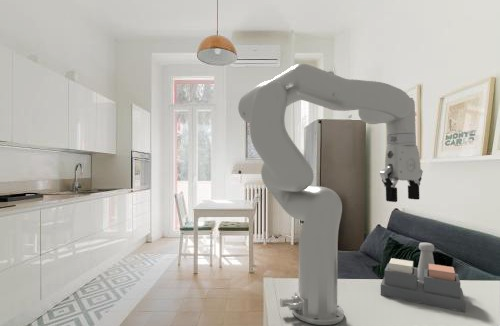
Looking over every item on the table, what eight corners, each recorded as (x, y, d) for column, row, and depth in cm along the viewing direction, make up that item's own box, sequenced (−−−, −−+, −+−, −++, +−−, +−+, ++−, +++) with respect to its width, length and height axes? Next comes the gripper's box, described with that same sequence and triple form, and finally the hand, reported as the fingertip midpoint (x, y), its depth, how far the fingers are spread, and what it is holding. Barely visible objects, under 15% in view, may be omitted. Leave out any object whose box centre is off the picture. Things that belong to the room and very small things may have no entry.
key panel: (380, 294, 87) (380, 270, 87) (384, 284, 96) (385, 261, 96) (465, 312, 77) (464, 284, 77) (461, 298, 85) (461, 273, 86)
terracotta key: (428, 281, 83) (428, 269, 83) (428, 275, 88) (428, 263, 88) (455, 286, 80) (454, 273, 80) (453, 279, 85) (453, 267, 85)
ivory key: (389, 275, 88) (389, 263, 88) (391, 269, 93) (391, 258, 93) (412, 279, 85) (412, 266, 85) (413, 273, 90) (413, 261, 90)
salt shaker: (440, 288, 93) (440, 245, 93) (420, 286, 94) (420, 244, 95) (432, 281, 99) (432, 241, 99) (413, 279, 100) (413, 240, 100)
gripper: (392, 139, 80) (394, 203, 79) (432, 140, 88) (434, 199, 87) (369, 141, 86) (371, 201, 86) (408, 142, 94) (410, 197, 94)
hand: (403, 200), depth 87 cm, fingers open, 9 cm apart
